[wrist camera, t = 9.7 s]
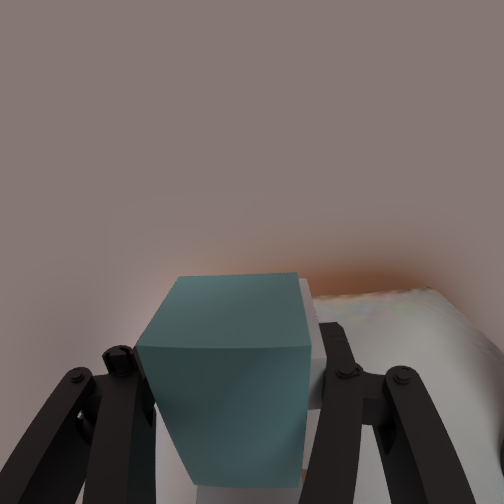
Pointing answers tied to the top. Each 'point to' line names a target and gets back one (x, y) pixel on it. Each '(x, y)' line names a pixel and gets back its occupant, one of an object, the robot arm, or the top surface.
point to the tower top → (248, 495)
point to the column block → (232, 377)
